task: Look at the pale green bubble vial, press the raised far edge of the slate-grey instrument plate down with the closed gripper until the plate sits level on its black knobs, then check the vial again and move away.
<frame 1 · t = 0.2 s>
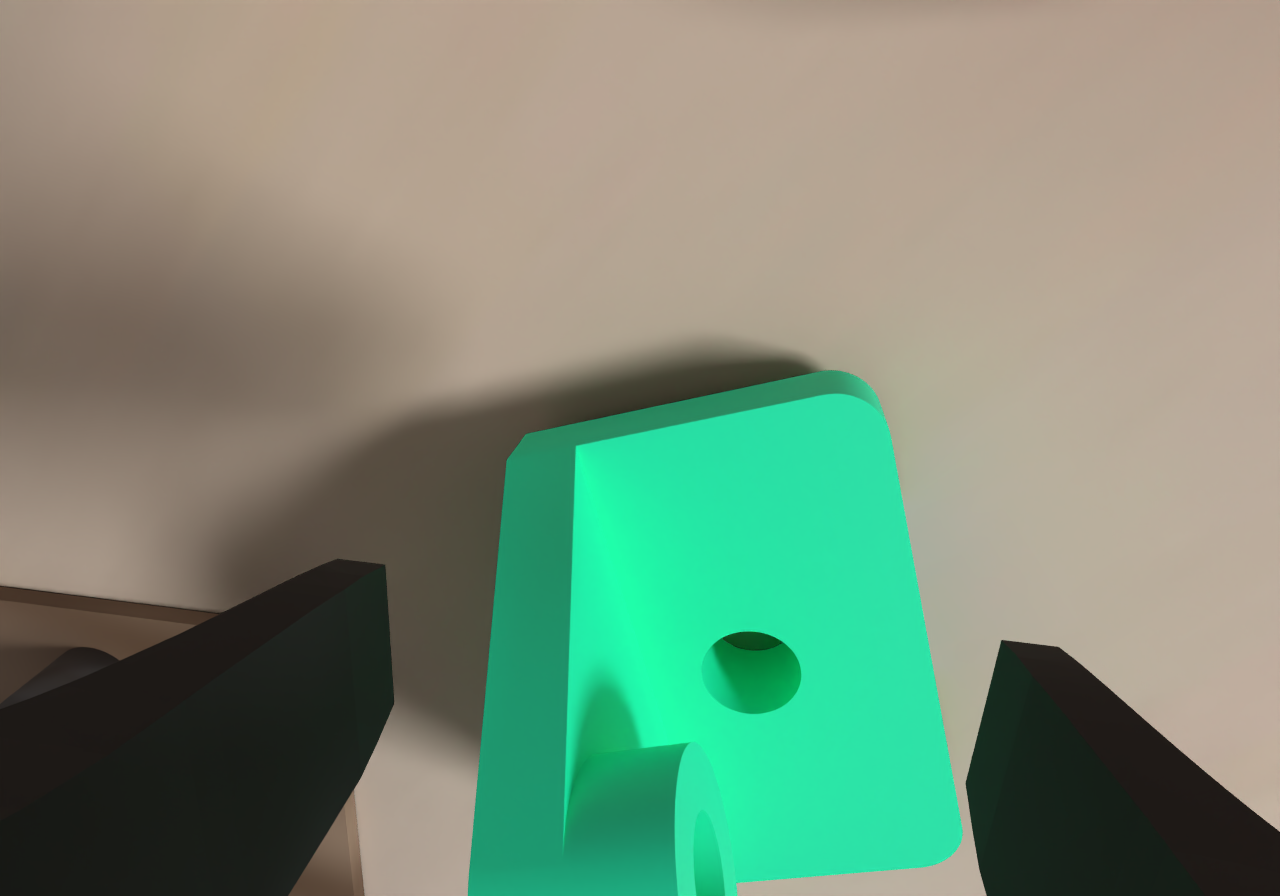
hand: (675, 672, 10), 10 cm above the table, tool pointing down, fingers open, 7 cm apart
stand base: (145, 818, 27), on the table
camera mount: (753, 604, 22), on the table
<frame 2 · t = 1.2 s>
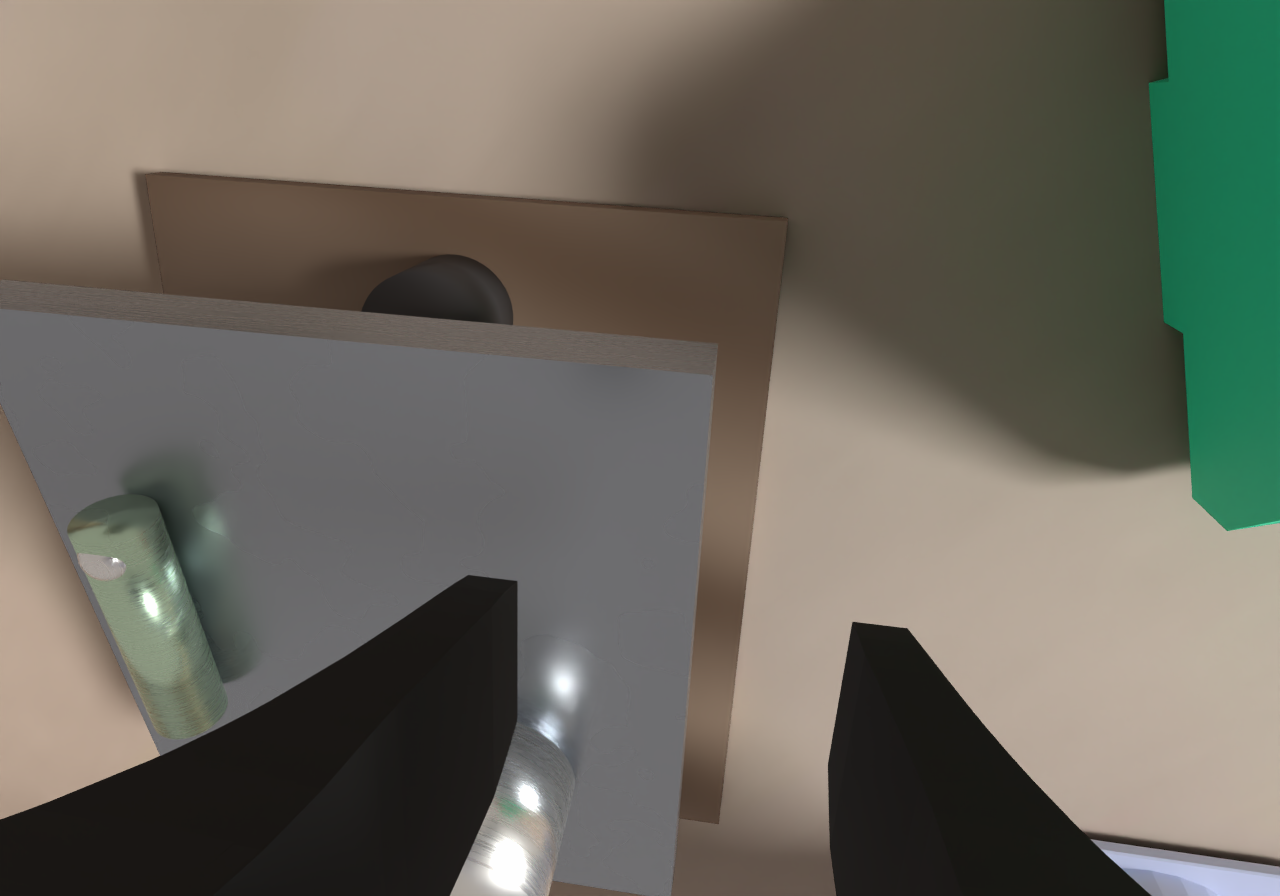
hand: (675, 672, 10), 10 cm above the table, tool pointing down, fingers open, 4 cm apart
stand base: (470, 522, 22), on the table
level plate: (360, 699, 16), point 6 cm above the table, hinge at 12.0°
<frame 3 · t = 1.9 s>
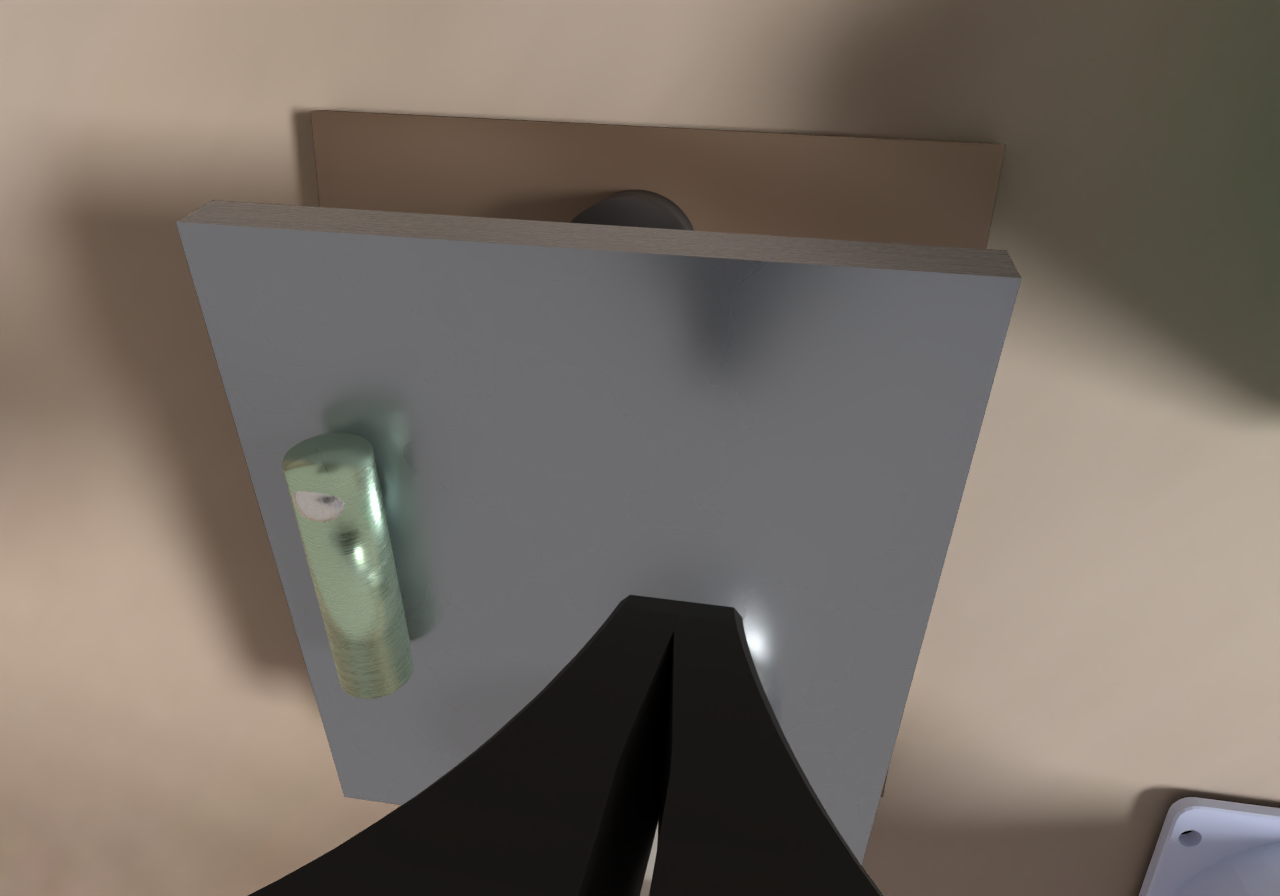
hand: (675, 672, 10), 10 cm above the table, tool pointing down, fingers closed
stand base: (631, 480, 21), on the table
level plate: (574, 652, 15), point 6 cm above the table, hinge at 12.0°
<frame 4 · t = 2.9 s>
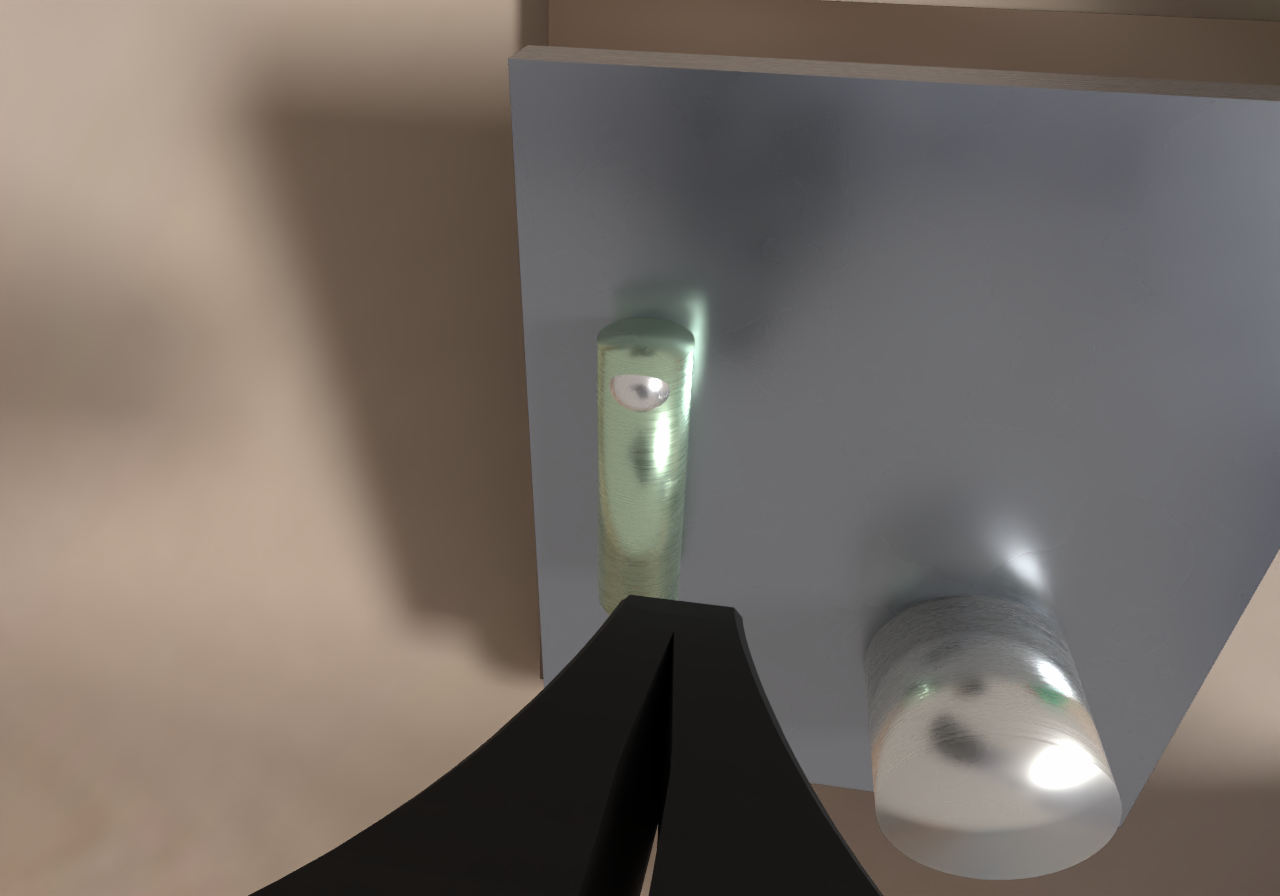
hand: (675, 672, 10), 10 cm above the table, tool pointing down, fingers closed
stand base: (856, 407, 20), on the table
level plate: (888, 569, 14), point 6 cm above the table, hinge at 12.0°
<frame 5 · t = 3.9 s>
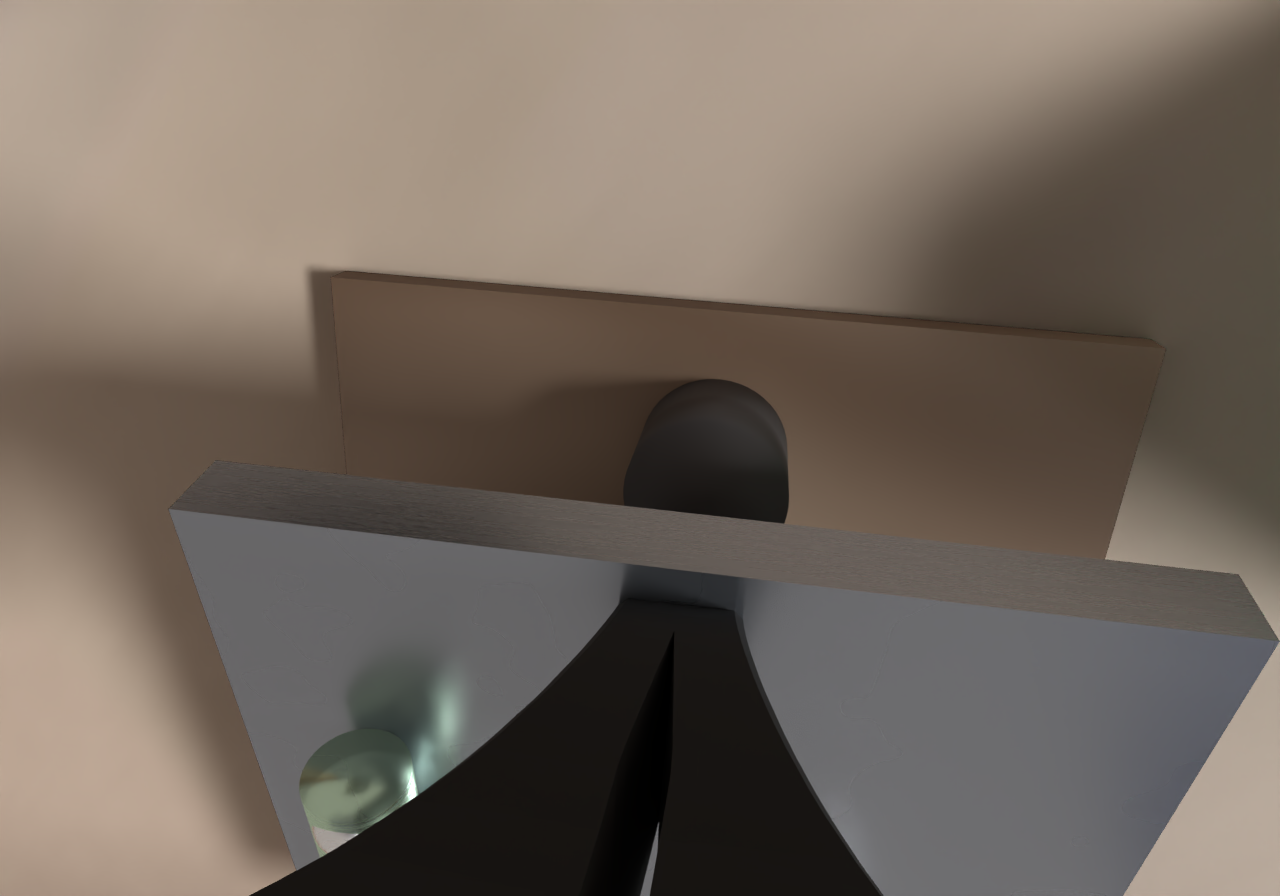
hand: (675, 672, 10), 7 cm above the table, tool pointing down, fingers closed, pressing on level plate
stand base: (692, 681, 18), on the table
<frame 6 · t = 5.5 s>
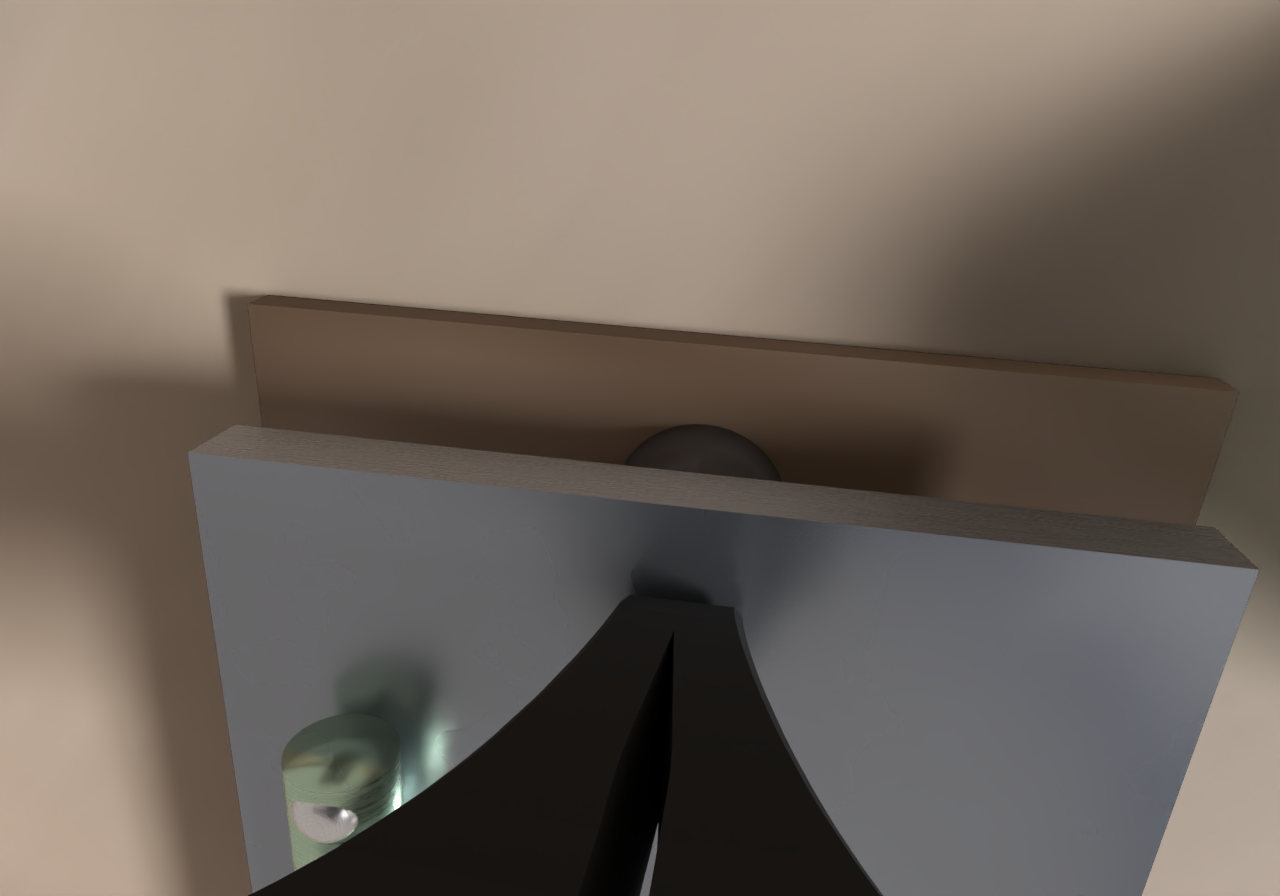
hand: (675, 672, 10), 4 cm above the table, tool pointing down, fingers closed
stand base: (677, 760, 16), on the table
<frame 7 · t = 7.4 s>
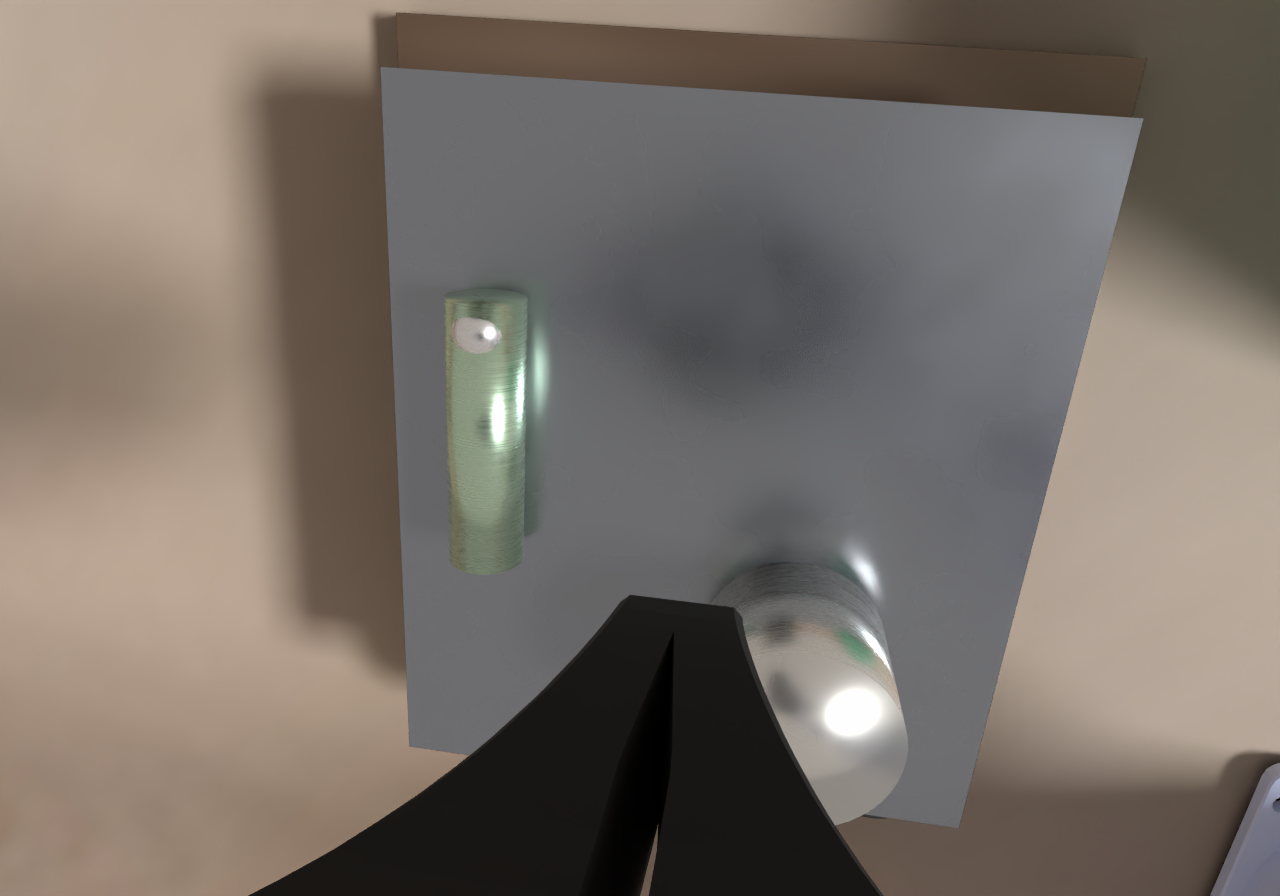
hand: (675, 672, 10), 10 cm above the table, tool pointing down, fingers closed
stand base: (716, 422, 20), on the table
level plate: (700, 517, 15), point 5 cm above the table, hinge at -0.7°
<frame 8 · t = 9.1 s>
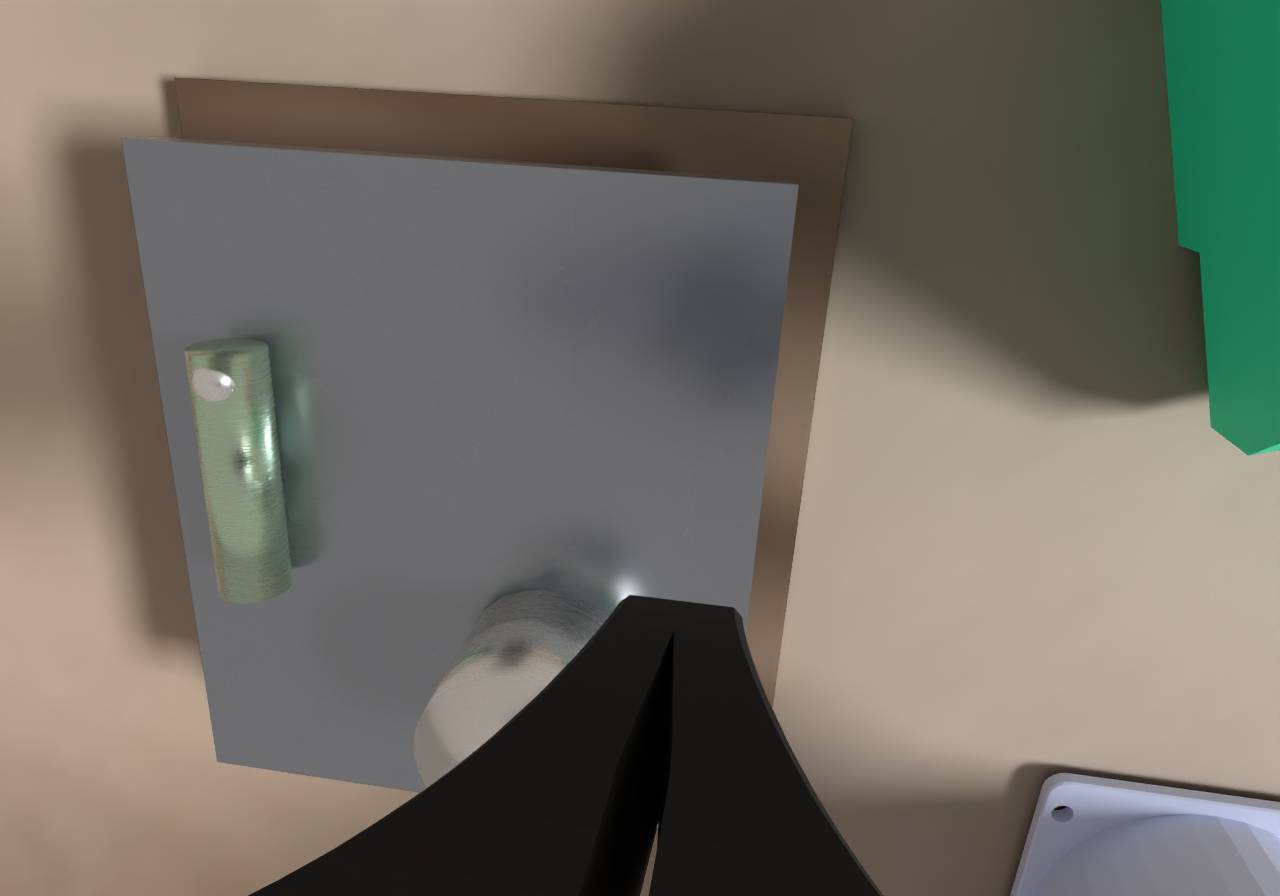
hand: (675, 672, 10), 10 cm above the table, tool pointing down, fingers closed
stand base: (508, 453, 21), on the table
level plate: (436, 549, 17), point 5 cm above the table, hinge at -0.7°
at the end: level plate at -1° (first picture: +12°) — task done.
